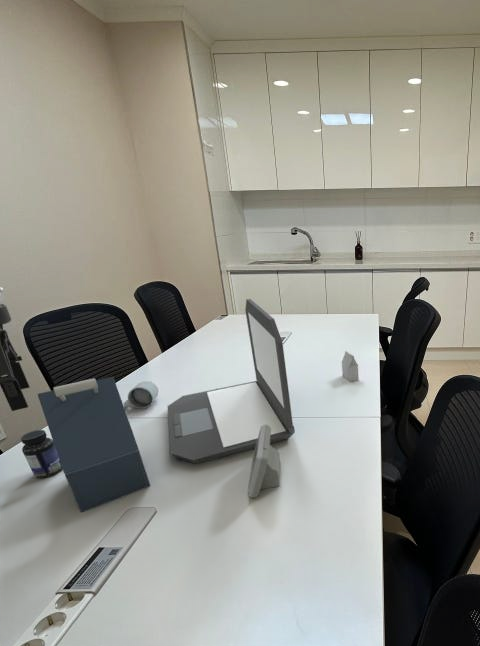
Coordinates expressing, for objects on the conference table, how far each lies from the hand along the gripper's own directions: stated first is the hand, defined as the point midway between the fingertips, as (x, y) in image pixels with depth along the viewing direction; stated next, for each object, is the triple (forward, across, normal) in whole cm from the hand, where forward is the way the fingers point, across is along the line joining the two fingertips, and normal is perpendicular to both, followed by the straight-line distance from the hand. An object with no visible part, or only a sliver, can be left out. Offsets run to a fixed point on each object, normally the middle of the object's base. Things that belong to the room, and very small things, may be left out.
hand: (21, 398), depth 89 cm
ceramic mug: (+22, +30, -25) cm, 44 cm away
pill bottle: (+22, +2, +1) cm, 22 cm away
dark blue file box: (+21, -12, -11) cm, 27 cm away
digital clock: (+21, -35, -40) cm, 58 cm away
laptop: (+22, -1, -43) cm, 48 cm away
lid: (+4, -16, -11) cm, 19 cm away
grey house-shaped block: (+21, +1, -92) cm, 94 cm away
